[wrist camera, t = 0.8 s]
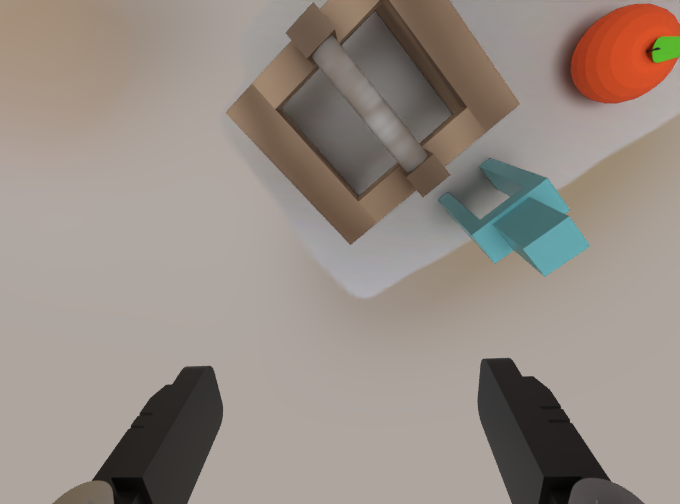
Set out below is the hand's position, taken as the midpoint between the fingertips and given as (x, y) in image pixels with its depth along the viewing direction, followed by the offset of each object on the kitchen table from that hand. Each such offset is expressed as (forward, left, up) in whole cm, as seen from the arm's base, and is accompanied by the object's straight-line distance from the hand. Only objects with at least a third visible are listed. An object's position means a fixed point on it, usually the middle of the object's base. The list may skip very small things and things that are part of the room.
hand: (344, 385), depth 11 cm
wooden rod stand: (-6, -5, -28) cm, 29 cm away
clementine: (-24, +6, -28) cm, 38 cm away
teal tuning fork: (-9, +8, -28) cm, 30 cm away
